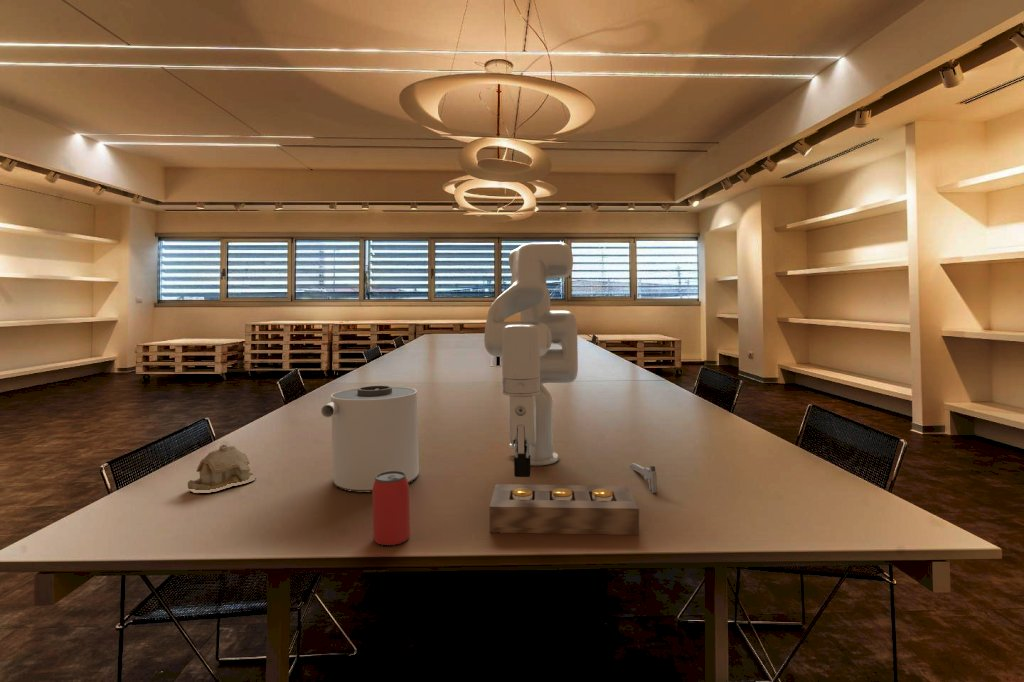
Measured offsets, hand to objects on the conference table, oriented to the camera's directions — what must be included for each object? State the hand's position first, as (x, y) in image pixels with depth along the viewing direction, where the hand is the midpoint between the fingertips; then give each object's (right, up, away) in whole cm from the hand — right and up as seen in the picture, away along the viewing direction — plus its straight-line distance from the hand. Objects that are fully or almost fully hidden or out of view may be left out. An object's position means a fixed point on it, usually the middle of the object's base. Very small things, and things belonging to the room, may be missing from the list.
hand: (522, 475), depth 96 cm
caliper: (+31, -8, +23) cm, 39 cm away
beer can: (-24, -10, -8) cm, 27 cm away
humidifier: (-38, -8, +24) cm, 46 cm away
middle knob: (+8, -8, -1) cm, 11 cm away
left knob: (0, -8, 0) cm, 8 cm away
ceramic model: (-74, -9, +22) cm, 78 cm away
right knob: (+16, -8, -1) cm, 18 cm away
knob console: (+8, -9, -1) cm, 12 cm away
